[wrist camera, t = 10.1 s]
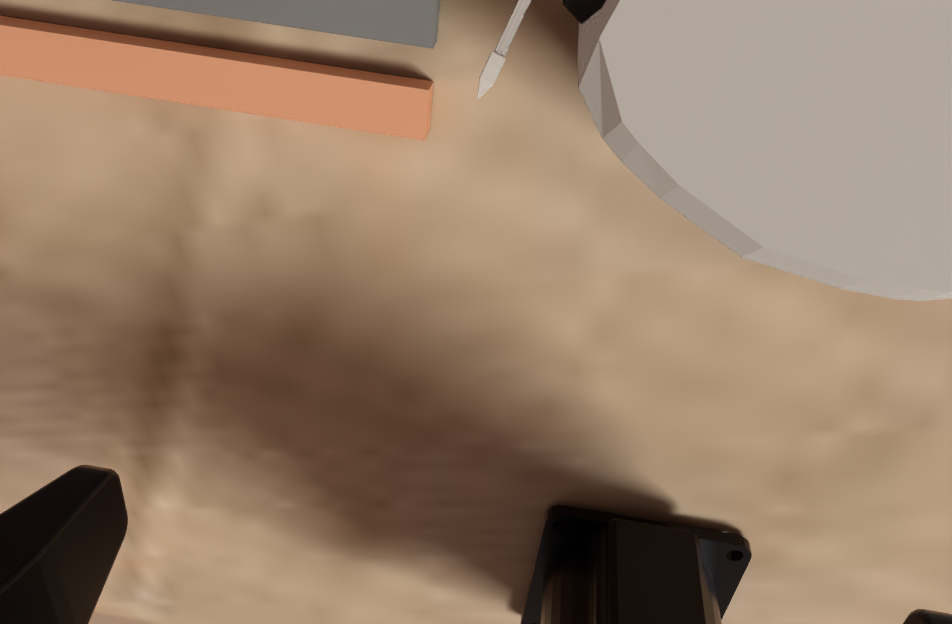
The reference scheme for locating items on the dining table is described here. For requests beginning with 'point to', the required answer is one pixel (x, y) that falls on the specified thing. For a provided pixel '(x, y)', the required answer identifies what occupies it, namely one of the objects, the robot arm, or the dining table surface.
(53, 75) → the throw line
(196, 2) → the mat
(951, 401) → the dining table surface
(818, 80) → the robot toy
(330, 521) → the dining table surface
